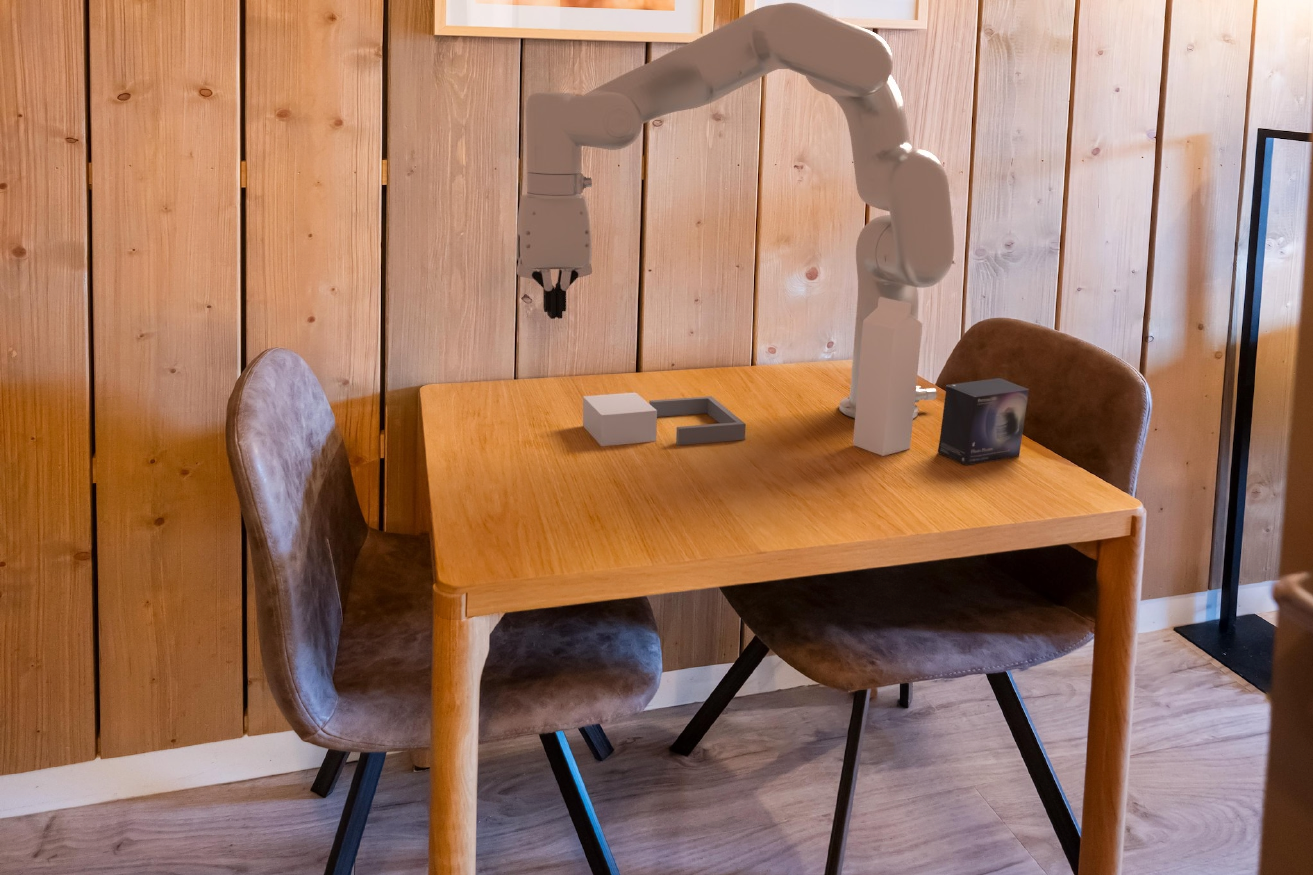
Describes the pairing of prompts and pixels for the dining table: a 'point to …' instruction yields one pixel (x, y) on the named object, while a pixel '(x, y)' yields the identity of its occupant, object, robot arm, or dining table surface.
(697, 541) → the dining table surface
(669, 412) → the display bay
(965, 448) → the small box
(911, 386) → the milk
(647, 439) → the carton
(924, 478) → the dining table surface
